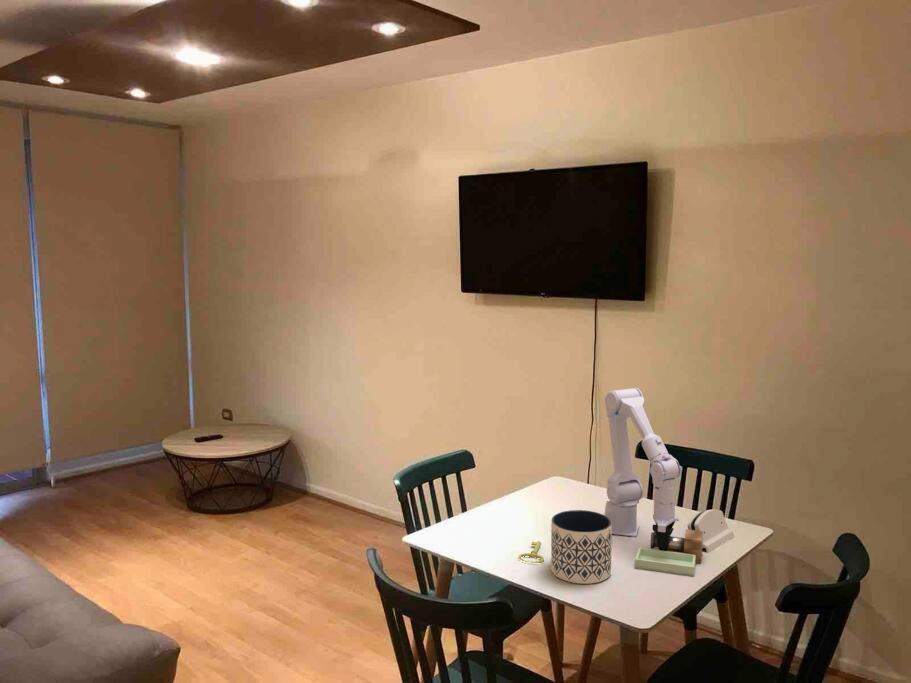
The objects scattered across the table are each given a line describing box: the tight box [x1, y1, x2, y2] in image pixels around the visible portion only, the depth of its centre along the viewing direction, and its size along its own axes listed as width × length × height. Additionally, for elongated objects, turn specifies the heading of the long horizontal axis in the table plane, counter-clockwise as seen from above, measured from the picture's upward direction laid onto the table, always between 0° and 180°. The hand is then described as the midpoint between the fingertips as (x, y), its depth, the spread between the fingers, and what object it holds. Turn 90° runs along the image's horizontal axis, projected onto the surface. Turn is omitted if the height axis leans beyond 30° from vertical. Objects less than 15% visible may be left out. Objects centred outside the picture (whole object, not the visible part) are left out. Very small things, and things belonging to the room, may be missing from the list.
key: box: [517, 540, 545, 564], centre depth 206 cm, size 7×12×2 cm, turn 178°
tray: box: [634, 547, 697, 577], centre depth 198 cm, size 15×8×2 cm, turn 69°
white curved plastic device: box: [686, 509, 735, 554], centre depth 214 cm, size 17×5×10 cm, turn 134°
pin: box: [649, 531, 685, 551], centre depth 205 cm, size 11×5×5 cm, turn 69°
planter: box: [550, 509, 613, 585], centre depth 195 cm, size 16×16×14 cm
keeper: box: [662, 528, 703, 565], centre depth 204 cm, size 11×7×7 cm, turn 69°
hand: (663, 547), depth 206 cm, fingers closed on pin, 3 cm apart
